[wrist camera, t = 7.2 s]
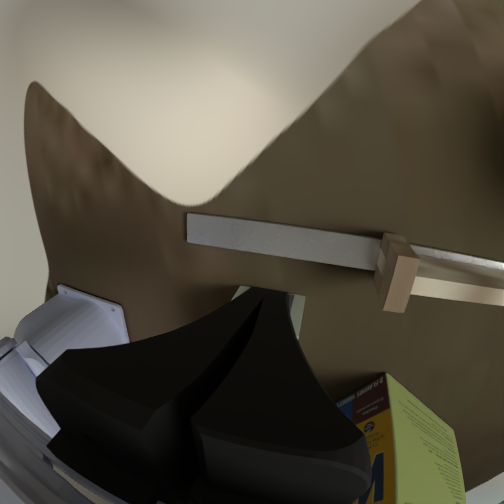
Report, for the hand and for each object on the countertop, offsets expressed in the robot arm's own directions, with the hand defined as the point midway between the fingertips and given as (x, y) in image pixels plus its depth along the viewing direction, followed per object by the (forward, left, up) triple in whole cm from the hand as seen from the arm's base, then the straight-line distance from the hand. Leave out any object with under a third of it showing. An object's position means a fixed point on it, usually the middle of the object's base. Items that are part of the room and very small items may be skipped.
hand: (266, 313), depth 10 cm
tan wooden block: (+11, 0, -8) cm, 14 cm away
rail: (+6, 0, -8) cm, 10 cm away
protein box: (+12, -18, -9) cm, 23 cm away
